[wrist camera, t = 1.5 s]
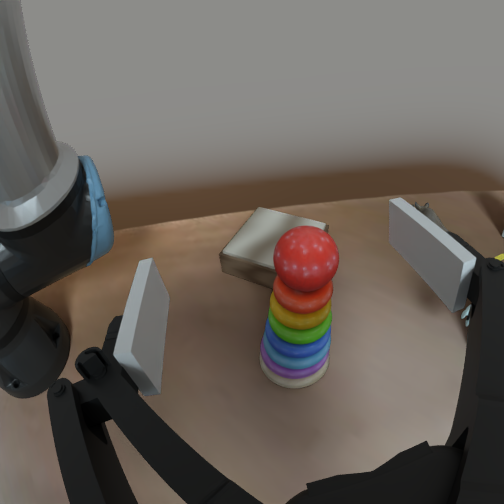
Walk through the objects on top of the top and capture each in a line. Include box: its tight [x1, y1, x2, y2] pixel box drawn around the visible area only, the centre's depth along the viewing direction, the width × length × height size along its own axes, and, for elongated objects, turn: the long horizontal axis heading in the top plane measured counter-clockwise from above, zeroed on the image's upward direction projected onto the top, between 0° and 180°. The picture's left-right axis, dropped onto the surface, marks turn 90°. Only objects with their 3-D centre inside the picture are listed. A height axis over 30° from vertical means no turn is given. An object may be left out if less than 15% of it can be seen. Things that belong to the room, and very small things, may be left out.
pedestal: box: [219, 207, 329, 289], centre depth 47 cm, size 12×12×4 cm
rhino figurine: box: [412, 202, 448, 232], centre depth 46 cm, size 4×14×6 cm, turn 2°
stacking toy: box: [259, 225, 339, 388], centre depth 29 cm, size 8×8×19 cm
